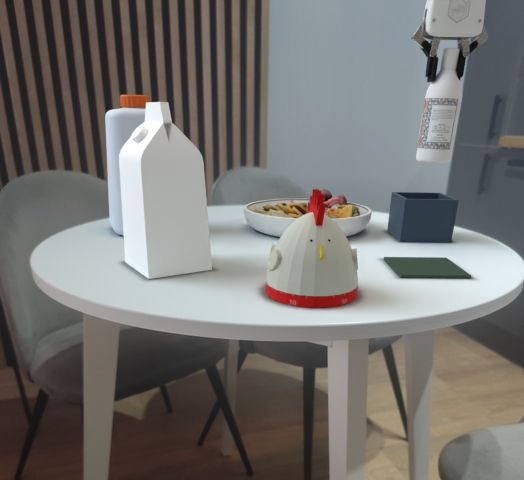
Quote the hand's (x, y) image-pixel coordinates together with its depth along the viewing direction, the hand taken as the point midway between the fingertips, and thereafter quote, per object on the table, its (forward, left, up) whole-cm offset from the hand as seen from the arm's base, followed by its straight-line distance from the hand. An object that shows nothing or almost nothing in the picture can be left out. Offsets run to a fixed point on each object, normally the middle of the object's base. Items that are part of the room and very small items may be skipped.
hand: (443, 80), depth 95 cm
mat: (+6, +21, -31) cm, 38 cm away
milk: (+52, +21, -31) cm, 64 cm away
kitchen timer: (+28, +35, -31) cm, 55 cm away
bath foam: (0, 0, -15) cm, 15 cm away
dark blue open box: (-1, -6, -31) cm, 32 cm away
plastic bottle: (+62, -10, -31) cm, 70 cm away
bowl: (+24, -13, -31) cm, 41 cm away
